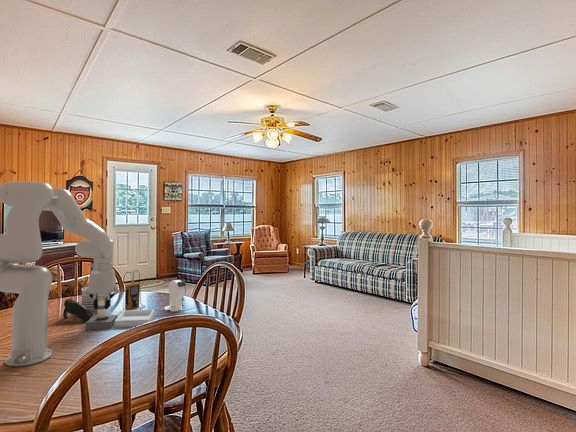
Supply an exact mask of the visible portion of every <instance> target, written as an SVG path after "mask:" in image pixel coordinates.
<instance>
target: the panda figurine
mask: <svg viewBox="0 0 576 432" xmlns="http://www.w3.org/2000/svg"><path fill="white" fill-rule="evenodd" d="M186 284H187V283H186V281H185V280H183V281H182V280H181V279H177V278H175V277H174V278H170V279H168V294H169V305H167V306H164V311H167V310H170V311H169V312H179V311H178V310H181V311H184V310H183V309H182V305H183V302H184V301H185V300H184V297H185V294H186V293H187V290H186ZM172 306H173V309H171V308H172ZM174 306H175V308H174Z"/></svg>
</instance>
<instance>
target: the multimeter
mask: <svg viewBox="0 0 576 432" xmlns="http://www.w3.org/2000/svg"><path fill="white" fill-rule="evenodd" d="M132 272H133V273H132ZM132 272H131V271H127V272H126V274H127V273H130V274H131V275H132V278H131V282H130V283H128V284H126V285H125V286H124V287H125V292H124V306H122V309H123V310H122V312H123V311H126V310H135V309H138V308H139V310H142V309H143V308H144V309H145V305H144V304H143V303H142V300H141V297H142V296H141V284H140V281H141V280H140V278H141V277H140V276H141V274H140V273H138V282H135V272H138V270H135V269H134V270H133V271H132ZM126 274H124V276H123V278H122V284H124V283H125V282H124V281H125V277H126ZM140 305H141V306H142V307H141V308H140Z"/></svg>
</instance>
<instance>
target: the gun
mask: <svg viewBox="0 0 576 432" xmlns="http://www.w3.org/2000/svg"><path fill="white" fill-rule="evenodd" d="M63 306H64V309H63V313H62V317H63V319H64V320H67V319H68V314H70V315H71V316H72V315H74V316H75V317H77V318H78V319H79V320H81V321H82V322H84V323H86V322H87V321H88V320H90V319H91V318H92V317H93V316H94V315H93V314H92V312H91V311H90V310H88V309H87V308H86V307H84V306H83V305H82V303H80V302H78V301H75V300H73V299H71V298H68V299H65V300H64V303H63Z"/></svg>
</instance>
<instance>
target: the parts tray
mask: <svg viewBox="0 0 576 432" xmlns="http://www.w3.org/2000/svg"><path fill="white" fill-rule="evenodd" d="M154 317H155V309H141V310H140V309H136V310H135V309H132V310H124V311H123V310H122V312H121V313H120V314H118V318H117V319H116V320H115V322H114V326H113V327H114V328H116V329H117V328H119V327H120V328H134V327H135V326H138V325H142V324H144V323H147V322H150V321H151V322H153V321H152V320H153V319H154ZM135 328H136V327H135Z"/></svg>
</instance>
